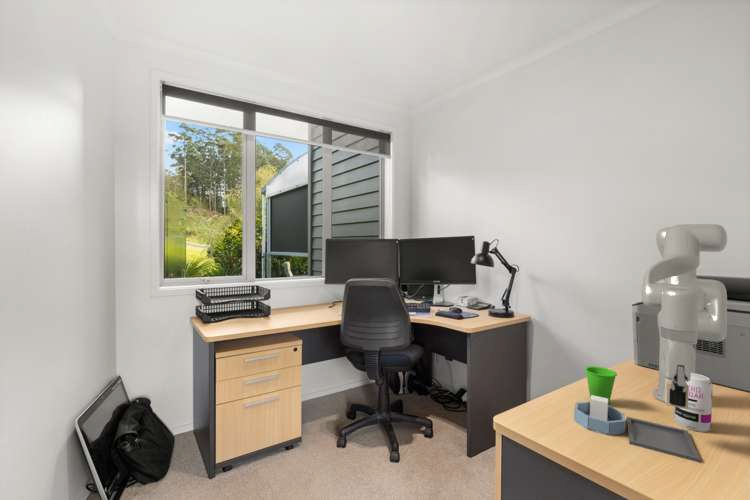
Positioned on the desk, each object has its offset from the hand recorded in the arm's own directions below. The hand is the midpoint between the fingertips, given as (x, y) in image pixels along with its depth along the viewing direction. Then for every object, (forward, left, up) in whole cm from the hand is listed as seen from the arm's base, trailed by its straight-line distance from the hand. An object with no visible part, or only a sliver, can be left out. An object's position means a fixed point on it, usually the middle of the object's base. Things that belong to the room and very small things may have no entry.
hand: (675, 401), depth 96 cm
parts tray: (+1, -3, -11) cm, 12 cm away
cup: (-16, -17, -11) cm, 26 cm away
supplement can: (-14, +6, -11) cm, 19 cm away
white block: (-2, -17, -10) cm, 20 cm away
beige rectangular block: (0, 0, -1) cm, 1 cm away
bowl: (+1, -17, -11) cm, 21 cm away
